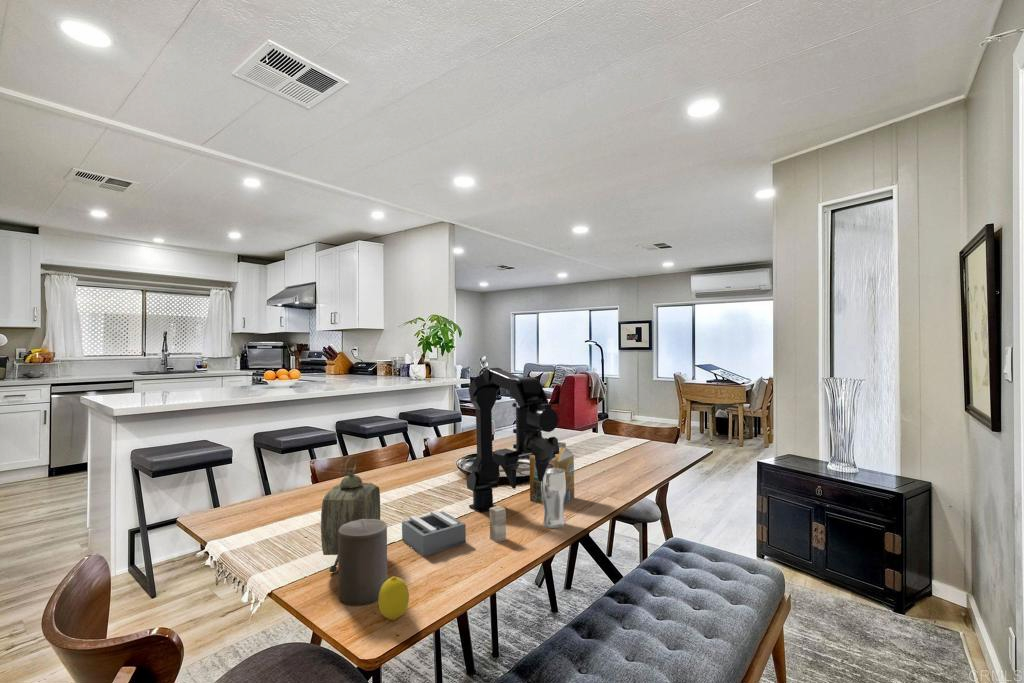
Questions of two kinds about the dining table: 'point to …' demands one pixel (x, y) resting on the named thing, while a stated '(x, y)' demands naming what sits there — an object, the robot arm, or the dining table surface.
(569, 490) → the milk carton
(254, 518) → the dining table surface
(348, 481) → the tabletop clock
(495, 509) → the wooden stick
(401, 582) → the lemon
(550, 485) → the beer glass
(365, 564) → the pillar candle
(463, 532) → the grey divided tray
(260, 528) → the dining table surface
